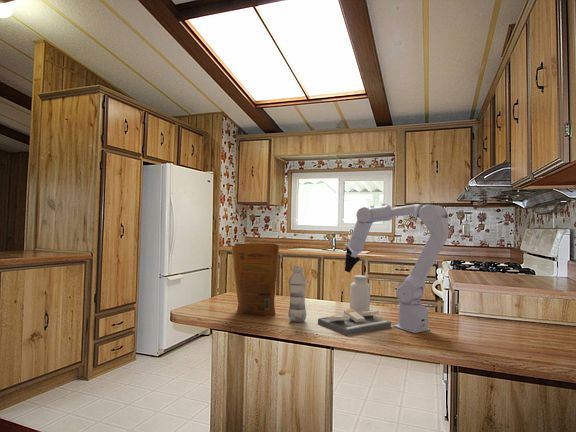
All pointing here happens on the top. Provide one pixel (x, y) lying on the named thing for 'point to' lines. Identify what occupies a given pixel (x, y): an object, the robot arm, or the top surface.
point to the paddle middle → (354, 315)
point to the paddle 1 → (339, 317)
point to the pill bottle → (360, 294)
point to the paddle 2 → (368, 313)
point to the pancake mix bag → (255, 277)
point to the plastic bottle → (297, 295)
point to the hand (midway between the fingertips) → (347, 268)
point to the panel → (354, 324)
